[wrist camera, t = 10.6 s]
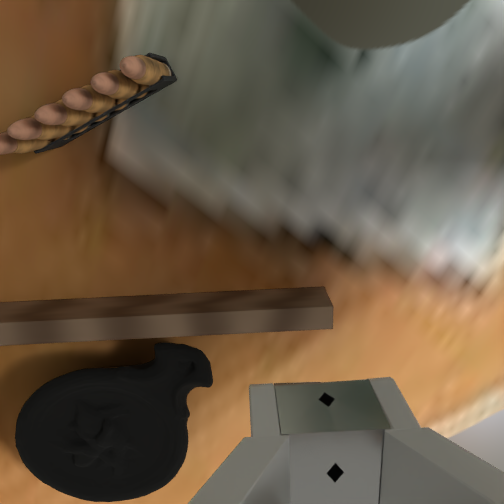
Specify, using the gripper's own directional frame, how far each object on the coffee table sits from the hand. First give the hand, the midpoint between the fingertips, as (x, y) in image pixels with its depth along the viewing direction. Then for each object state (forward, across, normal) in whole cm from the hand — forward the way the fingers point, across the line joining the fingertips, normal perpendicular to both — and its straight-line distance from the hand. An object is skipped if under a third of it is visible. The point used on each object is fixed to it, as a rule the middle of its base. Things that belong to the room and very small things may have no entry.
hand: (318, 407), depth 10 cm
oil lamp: (+30, +12, +20) cm, 38 cm away
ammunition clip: (+29, +11, -6) cm, 32 cm away
